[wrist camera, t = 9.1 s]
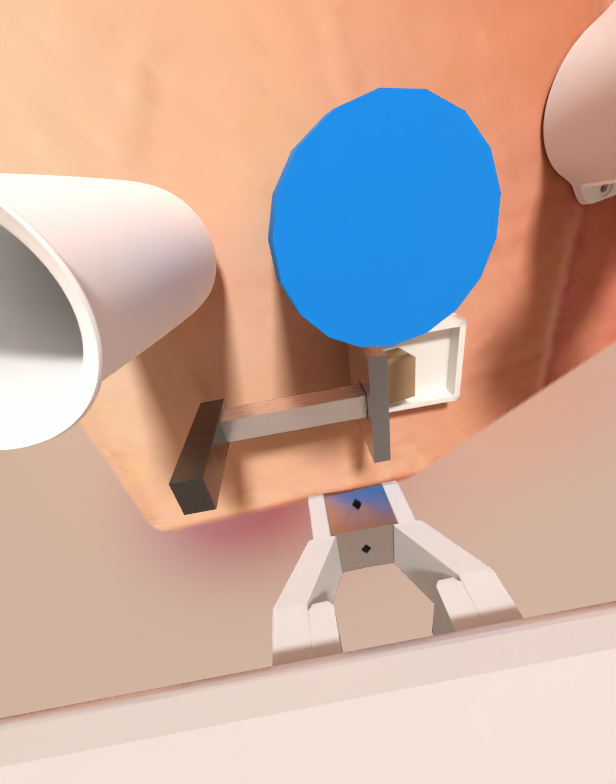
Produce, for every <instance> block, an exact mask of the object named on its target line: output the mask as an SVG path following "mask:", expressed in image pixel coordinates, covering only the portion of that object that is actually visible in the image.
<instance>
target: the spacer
mask: <svg viewBox="0 0 616 784" xmlns="http://www.w3.org/2000/svg"><path fill="white" fill-rule="evenodd" d="M384 352H385V353H386V354H387V361H388V395H389V404H392V403H395V402H398V401H401V400H405V399H408V398H411V397H414V396H415V366H416V357H415V356H413V355H411V354H409V353H408V352H406V351H404V350H402V349H400V348H399V347H398V348H394V349H391V350H387V351H384Z"/></svg>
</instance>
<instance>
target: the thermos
mask: <svg viewBox="0 0 616 784" xmlns="http://www.w3.org/2000/svg"><path fill="white" fill-rule="evenodd" d="M500 195H501V192H500V187H499V183H498V178H497V174H496V169H495V165H494V160H493V156H492V152H491V148H490V146H489V145H488V144H487V142H486V141H485V139H484V138H483V136H482V135H481V133H480V132H479V130H478V129H477V128H476V126H475V125H474V123H473V122H472V120H471V119H470V117H469V116H468V114H467V113H466V111H464V110H462V109H461V108H459V107H457V106H455V105H454V104H452V103H450V102H448V101H446V100H445V99H443V98H441V97H439V96H438V95H436V94H434V93H432V92H431V91H429V90H427V89H405V88H378V89H376V90H374V91H372V92H369V93H367V94H365V95H363V96H361V97H358V98H356V99H354V100H352V101H350V102H348V103H345V104H343V105H341V106H339V107H337V108H334V109H333V110H332V111H330V112H329V113H327V114H326V115H325V116H324V117H323V118H322V119H321V120H320V121H319V122H318V123H317V124H316V125H315V126H314V127H313V129H312V130H311V131H310V132H309V133H308V134H307V135H306V136H305V137H304V138H303V139H302V140H301V141H300V142H299V143H298V145H297V146H296V147H295V148H294V149H293V150H292V151H291V153H290V156H289V158H288V160H287V163H286V165H285V167H284V169H283V172H282V174H281V176H280V179H279V181H278V183H277V185H276V188H275V190H274V192H273V195H272V205H271V215H270V225H269V236H268V241H269V245H270V250H271V254H272V259H273V263H274V268H275V272H276V277H277V280H278V281H279V283H280V285H281V286H282V288H283V290H284V291H285V293H286V294H287V296H288V298H289V299H290V301H291V303H292V304H293V306H294V307H295V309H296V310H297V312H298V313H299V314H300V315H301V316H302V317H304V318H305V319H306V320H307V321H309V322H310V323H311V324H313V325H314V326H315V327H316V328H318V329H319V330H320V331H321V332H323V333H324V334H325V335H326V336H328V337H329V338H333V339H336V340H339V341H342V342H345V343H349V344H352V345H355V346H358V347H376V346H394V345H397V344H399V343H402V342H405V341H407V340H410V339H412V338H415V337H418V336H420V335H423V334H426V333H427V332H429V331H430V330H431V329H432V328H434V327H435V326H436V325H438V324H439V323H440V322H442V321H443V320H444V319H445V318H447V317H448V316H449V315H451V314H452V313H453V312H455V311H456V310H457V308H458V307H459V306H460V304H461V303H462V302H463V300H464V299H465V298H466V296H467V295H468V294H469V292H470V291H471V290H472V288H473V287H474V286H475V284H476V283H477V282H478V280H479V279H480V278H481V275H482V273H483V270H484V268H485V265H486V263H487V260H488V258H489V255H490V252H491V250H492V247H493V245H494V242H495V240H496V236H497V226H498V216H499V206H500Z"/></svg>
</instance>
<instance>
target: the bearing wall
mask: <svg viewBox="0 0 616 784" xmlns="http://www.w3.org/2000/svg"><path fill="white" fill-rule="evenodd" d="M347 349H348V360H349V370H350V381H351V385H356V384H360V385H361V387H362V389H363V391H364V393H365V395H366V403H367V417H365V418H360V419H356V420H357V422H358V425H359V427H360V429H361V432H362V434H363V437H364V439H365V441H366V444H367V446H368V449H369V451H370V453H371V456H372V458H373V461H374V463H376V462H382V461H387V460H390V428H389V395H388V361H387V354H386V353H385V352H384V351H383V349H382V348H381V347H380V346H376V347H358V346H355V345H352V344H349V343H347Z"/></svg>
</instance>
